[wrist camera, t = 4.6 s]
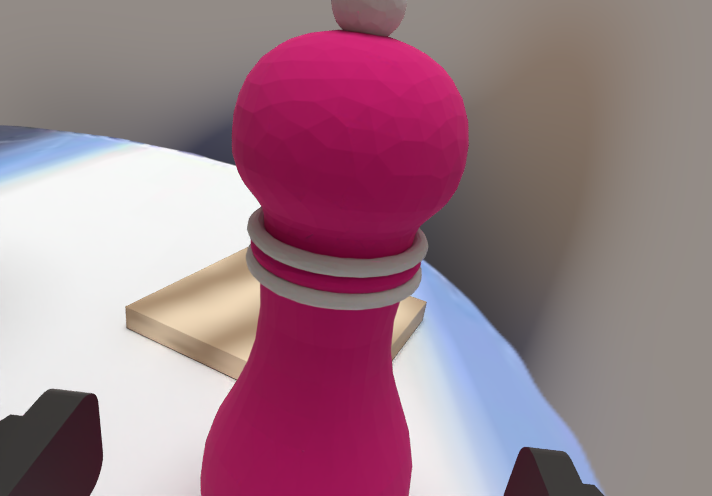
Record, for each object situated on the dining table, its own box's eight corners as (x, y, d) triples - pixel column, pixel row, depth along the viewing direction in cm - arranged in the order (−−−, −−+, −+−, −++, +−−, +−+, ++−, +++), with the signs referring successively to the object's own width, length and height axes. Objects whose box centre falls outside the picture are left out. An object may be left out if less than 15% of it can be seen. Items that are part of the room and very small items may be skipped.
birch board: (126, 327, 30) (125, 306, 30) (255, 259, 41) (255, 243, 41) (341, 428, 25) (344, 405, 25) (422, 319, 36) (426, 301, 36)
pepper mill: (274, 447, 23) (317, -29, 16) (416, 522, 21) (555, -5, 13) (154, 580, 17) (127, -94, 9) (334, 709, 15) (504, -74, 7)
